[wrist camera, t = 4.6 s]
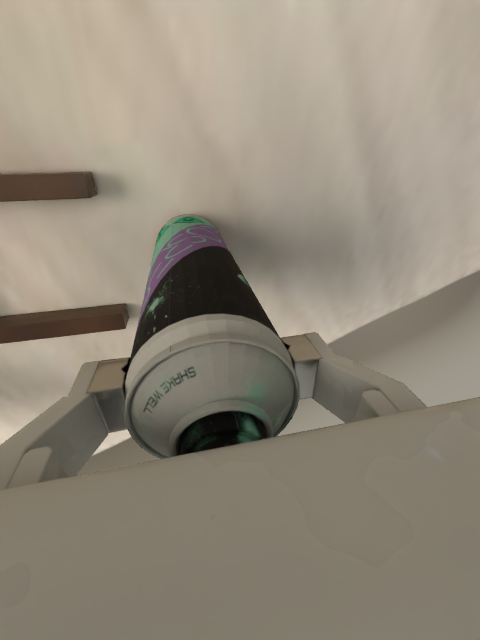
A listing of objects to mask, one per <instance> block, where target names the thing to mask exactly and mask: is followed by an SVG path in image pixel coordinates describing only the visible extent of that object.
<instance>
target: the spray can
mask: <svg viewBox="0 0 480 640" xmlns="http://www.w3.org/2000/svg"><path fill="white" fill-rule="evenodd" d="M125 396H126V401H125V410H124V417H125V422H126V427H127V429H128V431H129V433H130V435H131V436H132V438H133V439H134V441H135V442H136V443H137V444H138V445H139V446H140V447H141V448H143V449H144V450H146V451H147V452H149V453H150V454H152V455H153V456H156V457H158V458H161V459H164V458H169V457H174V456H179V455H184V454H189V453H194V452H200V451H205V450H210V449H215V448H220V447H225V446H230V445H236V444H241V443H246V442H251V441H256V440H261V439H266V438H272V437H276V436H277V435H278V434H279V433H280V432H281V431H282V430H283V429H284V428H285V427H286V425H287V424H288V423H289V421H290V420H291V419H292V417H293V415H294V413H295V410H296V409H297V406H298V401H299V397H300V384H299V380H298V377H297V374H296V372H295V370H294V368H293V363H292V360H291V357H290V354H289V352H288V351H287V349H286V347H285V346H284V344H283V342H282V340H281V339H280V337H279V335H278V334H277V332H276V330H275V328H274V327H273V325H272V323H271V322H270V320H269V318H268V316H267V315H266V313H265V311H264V310H263V308H262V306H261V304H260V303H259V301H258V299H257V298H256V296H255V294H254V292H253V291H252V289H251V287H250V286H249V284H248V282H247V280H246V279H245V277H244V275H243V274H242V272H241V270H240V268H239V267H238V265H237V263H236V262H235V260H234V258H233V256H232V255H231V253H230V251H229V250H228V248H227V246H226V244H225V243H224V241H223V239H222V238H221V236H220V234H219V233H218V231H217V229H216V228H215V227H214V226H213V225H212V224H211V223H210V222H209V221H207V220H206V219H204V218H202V217H200V216H196V215H180V216H177V217H175V218H173V219H171V220H170V221H168V222H167V223H166V224H165V225H164V226H163V227H162V229H161V231H160V232H159V234H158V237H157V241H156V245H155V250H154V254H153V259H152V263H151V268H150V272H149V277H148V281H147V286H146V290H145V295H144V300H143V304H142V309H141V313H140V318H139V322H138V327H137V331H136V336H135V340H134V345H133V349H132V354H131V358H130V363H129V368H128V372H127V377H126V381H125Z"/></svg>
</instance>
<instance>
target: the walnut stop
mask: <svg viewBox="0 0 480 640" xmlns="http://www.w3.org/2000/svg"><path fill="white" fill-rule="evenodd" d="M95 195H97V192H96V188H95V185H94V181H93V177H92V173H91V172H63V173H25V174H0V202H4V201H28V200H53V199H77V198H91V197H93V196H95ZM128 319H129V316H128V313H127V309H126V305H125V304H118V305H109V306H99V307H89V308H80V309H70V310H61V311H51V312H41V313H32V314H22V315H13V316H3V317H0V344H2V343H11V342H19V341H27V340H36V339H44V338H53V337H61V336H69V335H78V334H86V333H95V332H103V331H111V330H120V329H126V326H127V322H128Z"/></svg>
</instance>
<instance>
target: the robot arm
mask: <svg viewBox="0 0 480 640" xmlns="http://www.w3.org/2000/svg"><path fill="white" fill-rule="evenodd" d="M280 339H281V340H282V342H283V344H284V346H285V347H286V349H287V351H288V352H289V354H290V357H291V360H292V363H293V368H294V370H295V372H296V374H297V377H298V380H299V384H300V397H299V399H306V398H313V399H314V400H315V401H317V402H318V403H319V404H321V405H322V406H324V407H325V408H326V409H327V410H329V411H330V412H331V413H333V414H334V415H336V416H337V417H338V418H340V419H341V420H342V421H344V422H345V423H344V424H339V425H334V426H329V427H324V428H319V429H314V430H308V431H303V432H298V433H293V434H288V435H282V436H277V437H272V438H266V439H261V440H256V441H251V442H246V443H241V444H236V445H230V446H225V447H220V448H215V449H210V450H205V451H200V452H194V453H189V454H184V455H179V456H174V457H169V458H164V459H159V460H153V461H148V462H143V463H138V464H133V465H128V466H122V467H117V468H112V469H107V470H102V471H97V472H92V473H87V474H81V475H76V474H77V473H78V472H79V471H80V470H81V468H82V467H83V466H84V464H85V463H86V462H87V461H88V459H89V458H90V457H91V456H92V454H93V453H94V452H95V451H96V449H97V448H98V447H99V445H100V444H101V443H102V442H103V440H104V439H105V438H106V437H107V435H108V433H111V432H116V431H121V430H126V429H127V427H126V422H125V417H124V410H125V401H126V396H125V381H126V377H127V372H128V368H129V363H130V357H129V358H120V359H111V360H102V361H94V362H86V363H84V364H83V365H82V367H81V369H80V371H79V373H78V375H77V378H76V380H75V382H74V384H73V386H72V389H71V391H70V393H69V395H68V397H63V398H61V399H60V400H59V401H57V402H56V403H55V404H54V405H52V406H51V407H50V408H48V409H47V410H46V411H44V412H43V413H42V414H40V415H39V416H38V417H37V418H35V419H34V420H33V421H31V422H30V423H29V424H27V425H26V426H25V427H23V428H22V429H21V430H20V431H18V432H17V433H16V434H14V435H13V436H12V437H10V438H9V439H8V440H6V441H5V442H4V443H3V444H1V445H0V640H480V397H478V398H473V399H468V400H462V401H457V402H452V403H447V404H442V405H437V406H432V407H427V406H426V405H425V404H424V403H423V402H422V401H421V400H420V399H419V398H418V397H417V396H416V395H415V394H414V393H413V392H412V391H411V390H410V389H409V388H408V387H407V386H406V385H405V384H403V383H401V382H399V381H397V380H395V379H392V378H390V377H388V376H385V375H383V374H381V373H378V372H376V371H374V370H372V369H369V368H367V367H365V366H362V365H360V364H358V363H356V362H353V361H351V360H349V359H347V358H344V357H342V356H336V355H335V354H334V352H333V351H332V350H331V349H330V348H329V346H328V345H327V344H326V343H325V342H324V340H323V339H322V338H321V337H320V336H319V334H318V333H316V332H313V333H307V334H303V335H296V336H289V337H282V338H280Z"/></svg>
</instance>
